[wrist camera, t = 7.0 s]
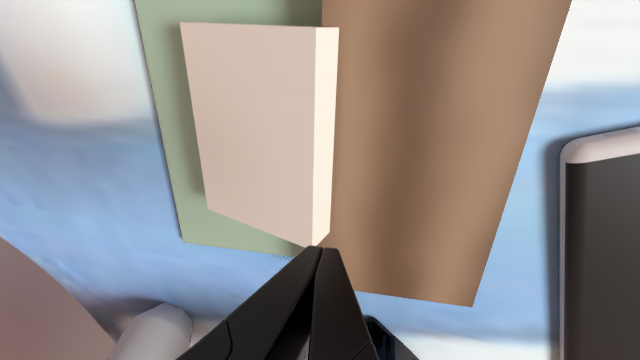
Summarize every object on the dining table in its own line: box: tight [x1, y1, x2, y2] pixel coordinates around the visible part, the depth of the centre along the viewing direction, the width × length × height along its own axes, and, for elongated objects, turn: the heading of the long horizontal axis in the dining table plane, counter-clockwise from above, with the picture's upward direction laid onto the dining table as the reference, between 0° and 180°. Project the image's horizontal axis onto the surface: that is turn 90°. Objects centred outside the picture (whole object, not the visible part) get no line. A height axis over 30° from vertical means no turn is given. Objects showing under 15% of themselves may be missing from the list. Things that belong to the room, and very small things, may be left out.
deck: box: [317, 0, 572, 307], centre depth 18 cm, size 10×20×3 cm, turn 178°
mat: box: [135, 0, 322, 257], centre depth 20 cm, size 12×20×1 cm, turn 178°
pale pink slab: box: [180, 22, 339, 248], centre depth 18 cm, size 11×8×2 cm
